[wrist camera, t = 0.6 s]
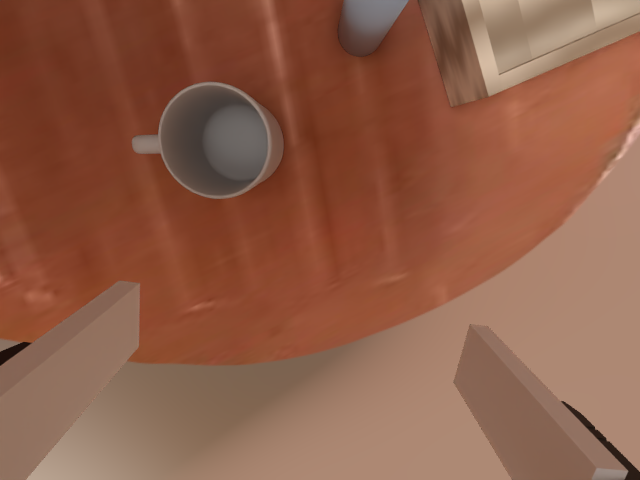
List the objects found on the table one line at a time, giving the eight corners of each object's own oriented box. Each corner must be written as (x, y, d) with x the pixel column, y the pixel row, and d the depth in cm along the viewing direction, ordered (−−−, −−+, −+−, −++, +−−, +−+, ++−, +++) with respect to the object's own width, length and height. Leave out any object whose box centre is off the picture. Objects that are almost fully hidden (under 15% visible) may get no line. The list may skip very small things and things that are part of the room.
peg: (330, 17, 34) (341, -59, 21) (373, -3, 34) (410, -92, 21) (347, 64, 35) (367, 17, 22) (389, 45, 35) (433, -13, 22)
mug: (282, 98, 36) (269, 78, 25) (286, 184, 38) (276, 198, 27) (161, 101, 36) (97, 82, 25) (173, 187, 38) (118, 203, 27)
